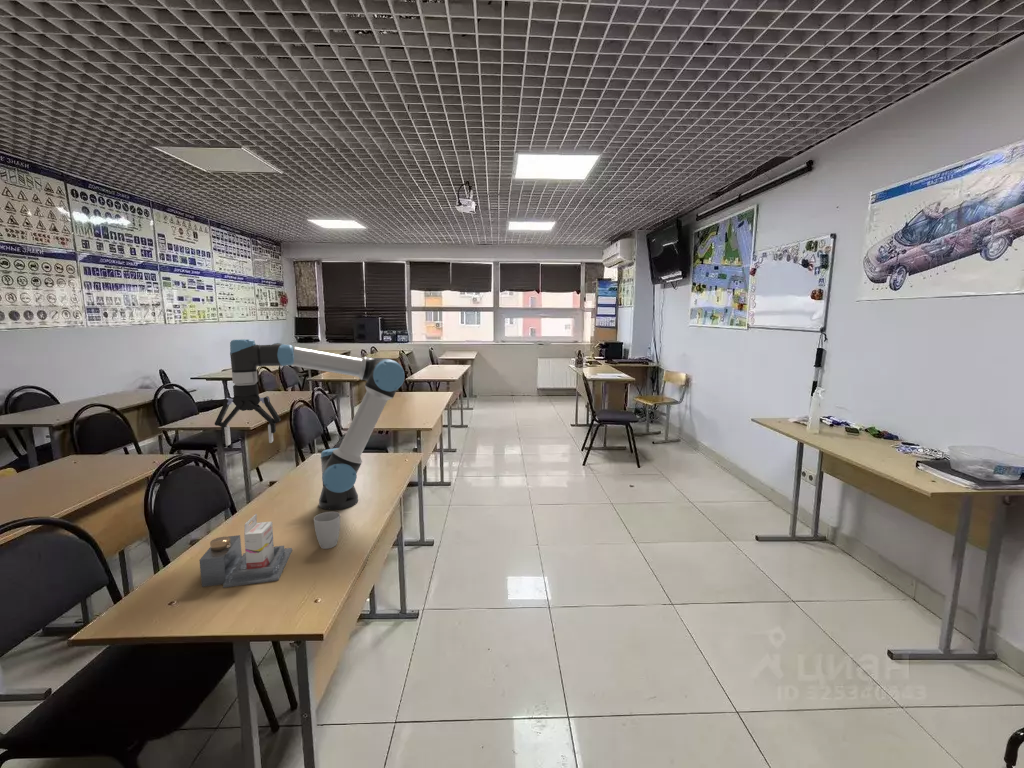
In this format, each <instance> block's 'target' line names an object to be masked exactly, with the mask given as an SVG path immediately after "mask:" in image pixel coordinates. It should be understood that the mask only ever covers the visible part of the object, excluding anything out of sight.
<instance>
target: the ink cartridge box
mask: <svg viewBox="0 0 1024 768" xmlns="http://www.w3.org/2000/svg"><path fill="white" fill-rule="evenodd" d="M257 517H258V514H257V513H255V514H254V515H253V516H252V517H250V518H249V520H247V521H246V522H245V523H244V532H243V534H244V535H243V537H244V550H245V552H244V553H246V565H247V569H254V568H263V567H267V566H268V564H269V563H270V562H271V561H272V559H273V558H274V547H275V546H274V528H273V521H261V522H258V520H257V519H258V518H257Z"/></svg>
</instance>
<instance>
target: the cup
mask: <svg viewBox="0 0 1024 768" xmlns="http://www.w3.org/2000/svg"><path fill="white" fill-rule="evenodd" d="M313 523H314V525H313V526H314V530H315V531H314V532H315V536H316V539H317V542H318V545H319V546H320V548H321V549H324V550H327V549H331V548H334V547H336V546H337V545H338V544H337V543H338V540H339V537H340V529H341V513H340V512H337V511H325V512H322V513H321V512H320V513H319V514H317V515H315V516H314V517H313Z"/></svg>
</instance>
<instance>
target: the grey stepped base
mask: <svg viewBox="0 0 1024 768" xmlns="http://www.w3.org/2000/svg"><path fill="white" fill-rule="evenodd" d="M241 540H242V539H241V534H240V535H239V534H238V535H230V536H220V537H216V538H214V539H212V540H211V541H210V542H209V545H210V547H209V548H208V549H207V551H205V553H204V554H203V555H202V556H201V557H200V558H199V570H200V572H199V573H200V581H201V582H200V583H201V588H204V587H205V588H206V587H211V586H218V585H223V586H222V588H224V589H225V588H231V587H238V586H246V585H254V584H255V585H256V584H261V583H269V582H276V581H277V582H278V581H279V580H280V578H281V575H282V573H283V571H284V569H285V567H286V565H287V563H288V560H289V558H290V556H291V554H292V552H293V547H287V548H285V545H278V546H274V558H273V559H272V561H271V562H270V563H269V564H268V566H267V567H263V568H254V569H247V565H246V553H245V552H244V553H243V554H242V543H241V542H242V541H241Z"/></svg>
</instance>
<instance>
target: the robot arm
mask: <svg viewBox="0 0 1024 768" xmlns="http://www.w3.org/2000/svg"><path fill="white" fill-rule="evenodd" d="M229 347H230V348H229V349H230V351H229V355H230V356H229V357H230V364H231V365H230V366H231V378H232V384H233V385H232V390H233V392H232V393H233V398H230V397H226V398H224V399H223V400H222V401H223V403H222V407H221V409H220V411H219V414H218V415H217V416H216V417H217V418H216V420H215V422H214V425H215V426H218V427H220V428H221V436H222V437H224V438H225V439H224V440H225V446H227V447H228V446H230V445H231V444H232V440H231V429H230V428H231V427H230V425H228V424H229V423H230V421H232V420H233V418H234V417H235V416H236V415H237V414H238V412H240V411H242V412H243V411H253V410H254V411H255V412H257V413H258V414H259V415H260V416H261V417H262V418H264V420H265V421H267V422H268V423H269V424H267V431H268V432H267V433H268V434H267V435H268V443H269V444H272V443H273V442H274V434H275V433H276V430H277V429H276V423H279V422H281V420H282V418H281V417H280V416H279V414H278V412H277V411H276V409H275V408H274V406H273V405H272V403H271V400H270V397H269V396H265V397H264V396H263V397H260V395H259V394H260V393H259V384H258V381H259V380H258V369H257V367H280V366H282V367H285V366H291V367H298V368H303V369H309V370H316V371H323V372H329V373H334V374H338V375H339V374H341V375H345V376H352V377H357V378H359V380H361V381H365V382H366V383H365V385H364V388H365V390H366V391H365V394H364V396H363V398H362V399H361V403H360V405H359V406H358V408H357V410H356V411H355V412H356V413H355V414H354V416H353V418H352V421H351V423H350V425H349V427H348V429H347V431H346V433H345V435H344V436H343V439H342V441H341V443H340V445H339V447H335V448H334V447H333V448H328V449H324V450H322V452H321V453H320V461H321V462H320V463H321V481H322V487H321V492H320V496H319V499H318V506H319V508H321V509H322V508H323V510H329V511H333V510H335V509H337V510H343V509H346V508H350V507H352V505H353V506H354V505H356V504H357V503H358V502H357V501H359V495H358V492H357V490H356V487H355V484H356V482H357V474H358V472H359V469H360V467H361V465H362V463H363V459H362V457H361V456H362V453H363V452H364V450H365V448H366V446H367V444H368V442H369V440H370V437H371V436H372V434H373V431H374V429H375V427H376V425H377V423H378V421H379V419H380V417H381V414H382V413H383V410H384V408H385V406H386V404H387V402H388V401H389V400H392V399H394V396H395V394H396V393H397V391H398V389H400V388H401V386H402V385H403V384H404V382H405V370H404V368H403V366H401V364H400V363H399V362H397V361H396V360H394V359H390V358H385V357H384V358H382V357H368V356H364V357H361V358H360V357H355V356H348V355H344V354H337V353H332V352H328V351H327V352H326V351H321V350H316V349H309V348H304V347H299V346H293V345H292V344H284V343H280V342H276V343H273V344H256V342H255V340H254V339H245V338H244V339H243V338H241V339H232V340H230V342H229ZM260 403H262V404H264V406H265V407H266V409H267V411H268V412H269V413H270V414H269V413H268V412H267V411H265V409H264V408H263V407H261V405H260ZM232 404H234V405H235V407H234V408H233V409H232V411H231V412H230V413H229V414H228V415H227V416H226V418H225V419H224V417H225V415H226V414H227V411H228V409H229V407H230V405H232ZM223 419H224V420H223ZM355 503H356V504H355ZM335 511H336V510H335Z"/></svg>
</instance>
